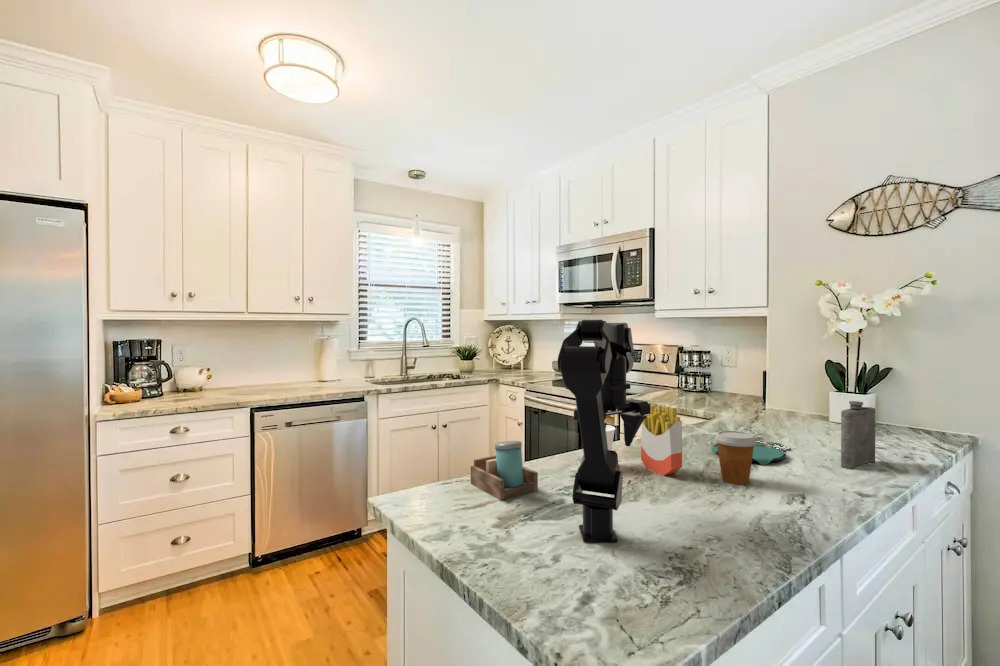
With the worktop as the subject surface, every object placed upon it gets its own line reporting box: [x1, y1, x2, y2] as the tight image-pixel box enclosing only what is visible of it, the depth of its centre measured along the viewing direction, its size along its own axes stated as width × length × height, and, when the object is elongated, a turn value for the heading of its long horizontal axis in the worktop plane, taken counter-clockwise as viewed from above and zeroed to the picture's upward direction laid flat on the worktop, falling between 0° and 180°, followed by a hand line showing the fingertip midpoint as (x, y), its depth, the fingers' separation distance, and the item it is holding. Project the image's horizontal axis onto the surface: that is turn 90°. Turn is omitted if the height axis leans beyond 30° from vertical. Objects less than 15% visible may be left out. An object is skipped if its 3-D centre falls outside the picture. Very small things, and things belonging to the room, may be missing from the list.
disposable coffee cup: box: [714, 430, 757, 485], centre depth 122 cm, size 10×10×12 cm
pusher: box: [486, 459, 498, 477], centre depth 120 cm, size 1×8×6 cm, turn 123°
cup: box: [606, 424, 616, 450], centre depth 136 cm, size 10×10×11 cm
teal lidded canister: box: [493, 440, 524, 487], centre depth 116 cm, size 7×7×10 cm
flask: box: [840, 400, 876, 470], centre depth 134 cm, size 4×14×18 cm, turn 117°
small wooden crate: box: [470, 455, 539, 501], centre depth 119 cm, size 14×11×6 cm
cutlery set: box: [710, 438, 791, 466], centre depth 148 cm, size 20×30×2 cm, turn 129°
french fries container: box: [640, 404, 683, 476], centre depth 129 cm, size 5×11×18 cm, turn 28°
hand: (613, 449), depth 105 cm, fingers open, 9 cm apart
